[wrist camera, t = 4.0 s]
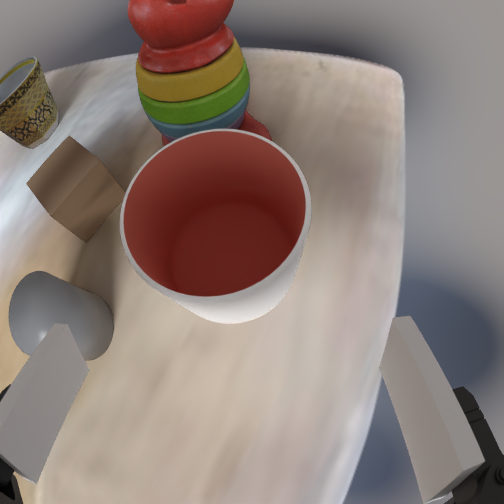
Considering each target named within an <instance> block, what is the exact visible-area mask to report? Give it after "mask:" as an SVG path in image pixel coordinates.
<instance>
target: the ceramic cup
mask: <svg viewBox="0 0 504 504" xmlns="http://www.w3.org/2000/svg"><path fill="white" fill-rule="evenodd" d="M58 121H59V112H58V109H57V107H56V104H55V102H54V100H53V97H52V95H51V92H50V90H49V88H48V86H47V83H46V79H45V76H44V73H43V71H42V69H41V66H40V64H39V61H38V60H37V58H36V57H33V56H32V57H28V58H25V59H23V60H21V61H19V62H18V63H16V64H15V65H13V66H12V67H10V68H9V69H8V70H7V71H6V72H4V73H3V74H2V75H1V76H0V131H2V132H3V133H5V134H6V135H7V136H9V137H10V138H12V139H13V140H15V141H16V142H18V143H19V144H21V145H22V146H25V147H28V148H32V149H33V148H35V147H37V146H38V145H40V144H41V143H43V142H45V141H46V140H48V138H49V137H50V136H51V134H52V133H53V132H54V130H55V129H56V128H57V126H58Z"/></svg>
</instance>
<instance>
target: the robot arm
mask: <svg viewBox="0 0 504 504" xmlns="http://www.w3.org/2000/svg"><path fill="white" fill-rule="evenodd" d="M379 368H380V371H381V374H382V376H383V379H384V381H385V384H386V387H387V390H388V392H389V395H390V398H391V401H392V403H393V406H394V409H395V412H396V415H397V418H398V421H399V424H400V427H401V430H402V433H403V436H404V439H405V442H406V445H407V448H408V452H409V455H410V458H411V461H412V465H413V468H414V471H415V475H416V478H417V482H418V486H419V489H420V492H421V497H422V500H423V504H427V503H430V502H433V501H435V500H438V499H441V498H443V497H445V496H446V495H447V494H448V493H450V492H451V491H452V494H453V497H452V498H451V499H450V500H448V501H447V502H445V503H444V504H504V455H503V454H502V452H501V451H500V449H499V447H498V445H497V442H496V440H495V438H494V436H493V434H492V432H491V430H490V427H489V426H488V423H487V421H486V419H484V415H483V413H482V412H481V410H479V406H478V404H477V402H476V400H475V398H474V396H473V395H472V394H471V393H470V392H469V391H467V390H466V389H465V388H464V387H459V388H456V389H453V390H452V388H451V386H450V385H449V383H448V381H447V379H446V377H445V375H444V373H443V372H442V370H441V368H440V366H439V364H438V362H437V360H436V359H435V357H434V355H433V353H432V352H431V350H430V348H429V346H428V345H427V343H426V341H425V339H424V338H423V336H422V334H421V333H420V331H419V329H418V328H417V326H416V324H415V323H414V321H413V319H412V318H411V316H404V317H396V318H393V320H392V324H391V328H390V332H389V335H388V339H387V343H386V347H385V350H384V354H383V357H382V361H381V364H380V367H379ZM89 370H90V369H89V367H88V366H87V364H86V362H85V360H84V358H83V356H82V354H81V352H80V350H79V348H78V346H77V344H76V342H75V339H74V337H73V335H72V333H71V331H70V329H69V326H68V324H59V323H55V324H54V325H53V326H52V328H51V329H50V330H49V332H48V333H47V334H46V336H45V337H44V338H43V340H42V341H41V342H40V344H39V345H38V347H37V348H36V349H35V351H34V352H33V354H32V355H31V356H30V358H29V359H28V361H27V362H26V364H25V365H24V366H23V368H22V369H21V371H20V372H19V374H18V375H17V377H16V378H15V380H14V381H13V383H12V384H10V385H9V386H8V387H6V388H5V389H4V390H3V391H2V392H1V394H0V504H23V501H22V498H21V494H20V490H19V486H18V482H17V479H16V477H15V476H14V475H13V473H14V471H16V472H17V473H18V474H19V475H20V476H22V477H23V478H25V479H27V480H29V481H31V482H33V483H35V484H37V482H38V480H39V477H40V475H41V472H42V470H43V467H44V465H45V462H46V460H47V458H48V455H49V453H50V451H51V448H52V446H53V444H54V442H55V439H56V437H57V435H58V433H59V431H60V428H61V426H62V424H63V422H64V420H65V418H66V416H67V414H68V411H69V409H70V407H71V405H72V403H73V401H74V399H75V397H76V395H77V393H78V391H79V389H80V387H81V385H82V383H83V381H84V379H85V378H86V376H87V374H88V372H89Z"/></svg>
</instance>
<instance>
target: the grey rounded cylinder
mask: <svg viewBox="0 0 504 504" xmlns="http://www.w3.org/2000/svg"><path fill="white" fill-rule="evenodd" d="M55 323H59V324H68V326H69V329H70V331H71V333H72V335H73V337H74V339H75V342H76V344H77V346H78V348H79V350H80V352H81V354H82V356H83V358H84V360H94V359H96V358H98V357H100V356H101V355H102V354H103V353H104V352H105V351H106V350H107V349H108V347H109V345H110V343H111V340H112V337H113V331H114V322H113V317H112V313H111V310H110V308H109V306H108V305H107V304H106V302H105V301H104V300H103V299H102V298H101V297H99V296H97V295H95V294H93V293H90V292H88V291H86V290H84V289H81V288H79V287H77V286H75V285H72V284H70V283H68V282H66V281H64V280H62V279H59V278H57V277H55V276H53V275H51V274H49V273H47V272H44V271H35V272H32V273H30V274H28V275H27V276H25V277H24V278H23V279H22V280H21V281H20V282H19V284H18V285H17V287H16V288H15V290H14V292H13V295H12V298H11V301H10V306H9V326H10V331H11V334H12V337H13V339H14V341H15V343H16V345H17V346H18V347H19V348H20V349H21V350H22V351H23V352H24V353H26V354H27V355H30V356H31V355H32V354H33V352H34V351H35V349H36V348H37V347H38V345H39V344H40V342H41V341H42V340H43V338H44V337H45V336H46V334H47V333H48V332H49V330H50V329H51V328H52V326H53V325H54V324H55Z"/></svg>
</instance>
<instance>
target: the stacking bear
mask: <svg viewBox="0 0 504 504" xmlns="http://www.w3.org/2000/svg"><path fill="white" fill-rule="evenodd" d="M233 2H234V0H130V1H129V4H128V16H129V20H130V22H131V24H132V26H133V28H134V30H135V31H136V33H137V34H138V35H139V36H140V38H141V39H142V40H143V41H144V43H143V44H142V46H141V49H140V51H139V54H138V58H137V61H136V77H137V83H138V92H139V96H140V100H141V103H142V106H143V108H144V110H145V113H146V115H147V116H148V118H149V119H150V121H151V122H152V123H153V125H154V126H155V127H156V128H157V129H158V130H159V131H160V132H161V133H162V141H163V145H164V146H166V145H167V144H169V143H171V142H173V141H174V140H177V139H179V138H181V137H183V136H186V135H189V134H192V133H195V132H199V131H204V130H211V129H236V130H243V131H247V132H251V133H254V134H257V135H260V136H262V137H264V138H266V139H269V140H270V141H272V139H271V136H270V134H269V132H268V130H267V128H266V127H265V126H264V125H263V124H261V123H260V122H258V121H257V120H255V119H254V118H252V117H251V116H250V115H249V114H248V113H247V111H246V106H247V103H248V98H249V89H250V83H249V79H250V78H249V73H248V68H247V65H246V62H245V59H244V57H243V55H242V52H241V49H240V47H239V44H238V43H237V41H236V39H235V37H234V34H233V32H232V31H231V29H230V28H229V27H228V26H226V25H225V24H224V23H223V22H224V21H225V19H226V18H227V16H228V14H229V12H230V10H231V8H232V5H233Z"/></svg>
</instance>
